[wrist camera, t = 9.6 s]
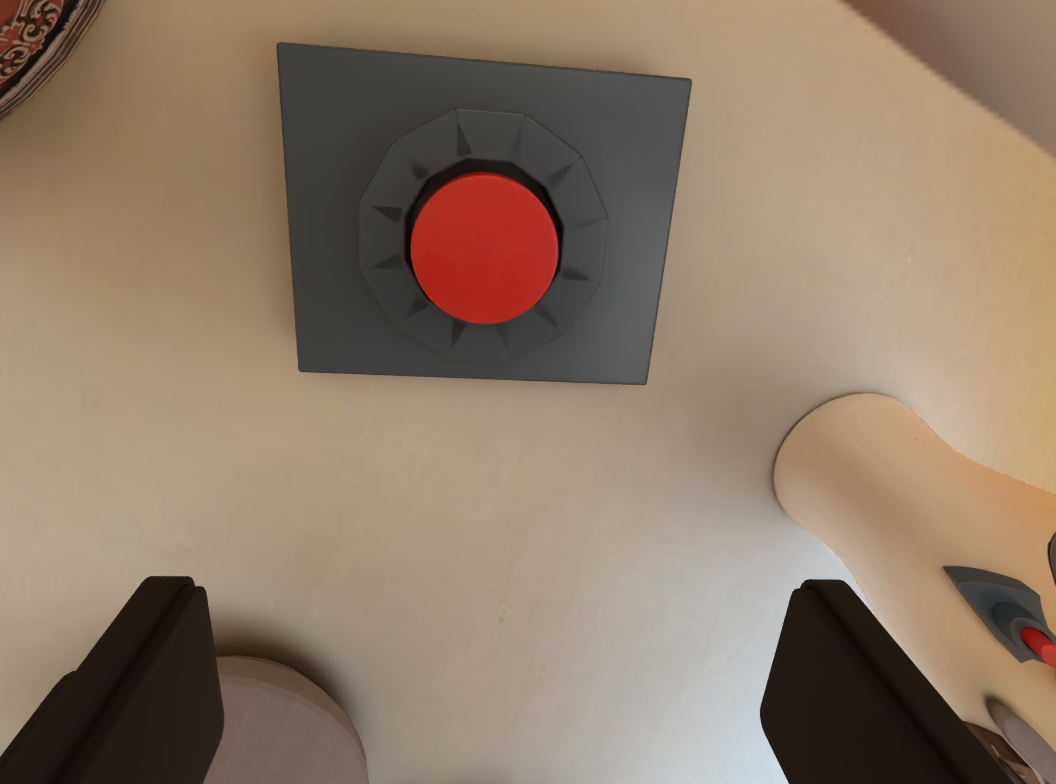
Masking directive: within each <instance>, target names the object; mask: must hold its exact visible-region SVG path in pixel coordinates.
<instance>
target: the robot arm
mask: <svg viewBox="0 0 1056 784" xmlns="http://www.w3.org/2000/svg"><path fill="white" fill-rule="evenodd" d="M760 719H761V724H762V728H763V731H764V733H765V735H766V737H767V739H768V741H769V744H770V746H771V748H772V750H773V752H774V754H775V756H776V758H777V760H778V762H779V764H780V766H781V768H782V770H783V772H784V774H785V776H786V778H787V780H788V783H789V784H1015V783H1014V782H1013V781H1012V780H1011V778H1010V777H1009V776H1008V775H1007V774H1006V773H1005V771H1004V770H1003V769H1002V768H1001V767H1000V765H999V764H998V763H997V762H996V761H995V759H994V758H993V757H992V756H991V755H990V753H989V752H988V751H987V750H986V749H985V747H984V746H983V745H982V744H981V743H980V741H979V740H978V739H977V738H976V737H975V735H974V734H973V733H972V732H971V731H970V730H969V728H968V727H967V726H966V725H965V724H964V722H963V721H962V720H961V719H960V718H959V716H958V715H957V714H956V713H955V712H954V710H953V709H952V708H951V707H950V706H949V704H948V703H947V702H946V701H945V700H944V698H943V697H942V696H941V695H940V694H939V692H938V691H937V690H936V689H935V688H934V687H933V685H932V684H931V683H930V682H929V681H928V679H927V678H926V677H925V676H924V675H923V673H922V672H921V671H920V670H919V669H918V667H917V666H916V665H915V664H914V663H913V661H912V660H911V659H910V658H909V657H908V655H907V654H906V653H905V652H904V651H903V649H902V648H901V647H900V646H899V645H898V644H897V642H896V641H895V640H894V639H893V638H892V636H891V635H890V634H889V633H888V632H887V630H886V629H885V628H884V627H883V626H882V624H881V623H880V622H879V621H878V620H877V618H876V617H875V616H874V615H873V614H872V612H871V611H870V610H869V609H868V608H867V606H866V605H865V604H864V603H863V602H862V601H861V599H860V598H859V597H858V596H857V595H856V593H855V592H854V591H853V590H852V589H851V587H850V586H849V585H848V584H847V583H846V582H844V581H842V580H813V579H809V580H805V581H804V582H803V583H802V585H801V587H800V588H798V589H795V590H794V591H793V592H792V595H791V598H790V601H789V605H788V608H787V612H786V616H785V619H784V623H783V627H782V630H781V634H780V638H779V641H778V645H777V648H776V652H775V656H774V659H773V663H772V667H771V670H770V674H769V678H768V681H767V685H766V689H765V692H764V696H763V699H762V703H761V707H760ZM224 721H225V718H224V709H223V702H222V695H221V688H220V682H219V675H218V668H217V661H216V655H215V648H214V641H213V634H212V628H211V621H210V614H209V607H208V601H207V594H206V590H205V589H204V587H201V586H195V584H194V581H193V579H192V578H191V577H188V576H150V577H148V578H146V579H145V580H144V581H143V582H142V583H141V584H140V586H139V587H138V588H137V590H136V591H135V592H134V594H133V595H132V596H131V598H130V599H129V600H128V602H127V603H126V604H125V606H124V607H123V609H122V610H121V611H120V613H119V614H118V615H117V617H116V618H115V619H114V621H113V622H112V623H111V625H110V626H109V627H108V629H107V630H106V631H105V633H104V634H103V635H102V637H101V638H100V639H99V641H98V642H97V643H96V645H95V646H94V647H93V649H92V650H91V651H90V653H89V654H88V655H87V657H86V658H85V659H84V661H83V662H82V663H81V665H80V666H79V667H78V669H77V670H76V671H72V672H70V673H68V674H67V675H65V676H63V678H62V679H61V680H60V681H59V682H58V683H57V684H56V685H55V686H54V687H53V689H52V690H51V691H50V693H49V694H48V695H47V696H46V698H45V699H44V700H43V702H42V703H41V704H40V706H39V707H38V708H37V710H36V711H35V712H34V713H33V715H32V716H31V717H30V719H29V720H28V721H27V723H26V724H25V725H24V727H23V728H22V729H21V730H20V732H19V733H18V734H17V736H16V737H15V738H14V740H13V741H12V742H11V744H10V745H9V746H8V747H7V749H6V750H5V751H4V753H3V754H2V755H1V757H0V784H203V782H204V780H205V777H206V775H207V773H208V770H209V768H210V766H211V763H212V761H213V758H214V756H215V754H216V751H217V749H218V747H219V744H220V741H221V738H222V734H223V730H224Z"/></svg>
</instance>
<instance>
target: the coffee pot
mask: <svg viewBox="0 0 1056 784" xmlns="http://www.w3.org/2000/svg"><path fill="white" fill-rule="evenodd" d="M216 661H217V668H218V675H219V682H220V688H221V695H222V702H223V709H224V718H225V721H224V730H223V734H222V738H221V741H220V744H219V747H218V749H217V751H216V754H215V756H214V758H213V761H212V763H211V766H210V768H209V770H208V773H207V775H206V777H205V780H204V782H203V784H369V780H368V771H367V762H366V756H365V752H364V749H363V746H362V743H361V740H360V738H359V736H358V734H357V732H356V730H355V728H354V726H353V724H352V722H351V720H350V718H349V716H348V715H347V714H346V713H345V712H344V711H343V710H342V709H341V708H340V707H339V706H338V705H337V704H336V703H335V702H334V700H333V699H332V698H331V697H330V696H329V695H328V694H327V693H326V692H324V691H323V690H322V689H321V688H320V687H318V686H317V685H315V684H314V683H313V682H312V681H311V680H310V679H309V678H307V677H306V676H304V675H302V674H301V673H299V672H298V671H296V670H294V669H293V668H291V667H288V666H286V665H283V664H280V663H277V662H275V661H272V660H269V659H264V658H257V657H251V656H244V655H236V656H216Z"/></svg>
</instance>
